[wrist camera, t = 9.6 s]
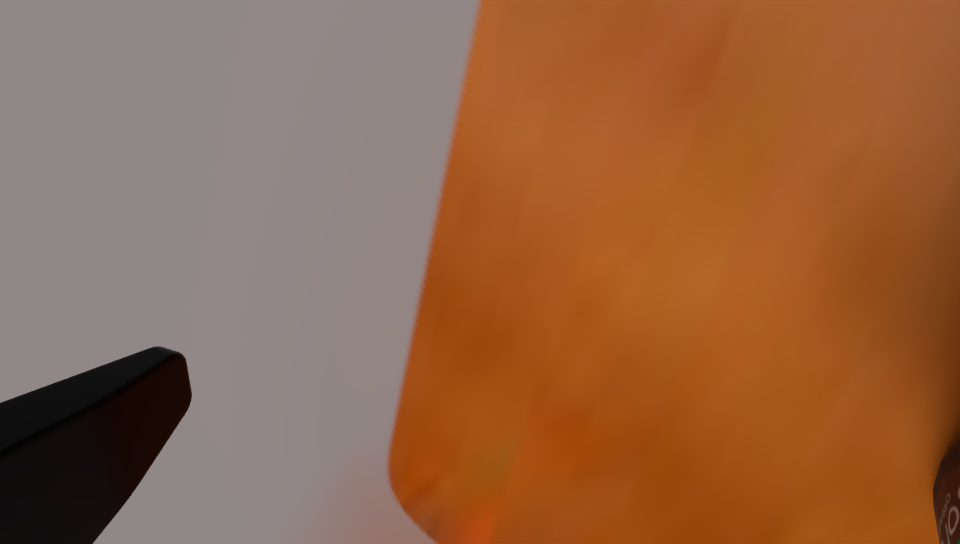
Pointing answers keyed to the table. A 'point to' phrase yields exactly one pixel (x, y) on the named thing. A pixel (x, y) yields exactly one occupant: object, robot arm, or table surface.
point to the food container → (948, 498)
